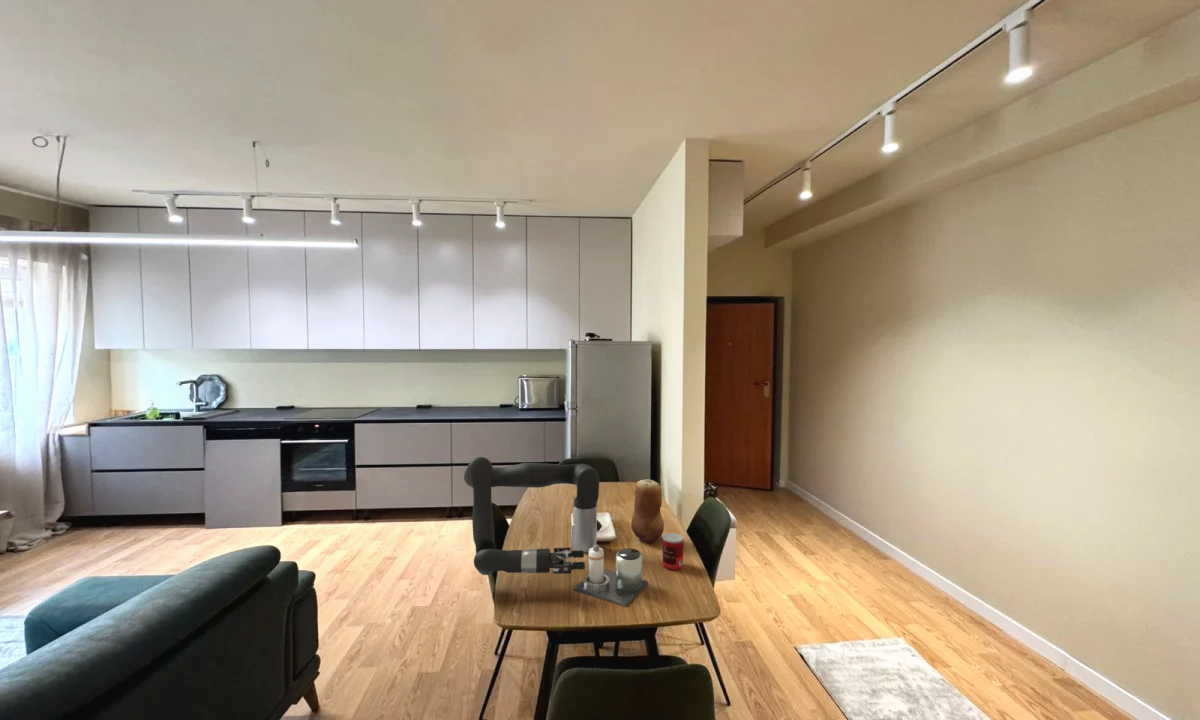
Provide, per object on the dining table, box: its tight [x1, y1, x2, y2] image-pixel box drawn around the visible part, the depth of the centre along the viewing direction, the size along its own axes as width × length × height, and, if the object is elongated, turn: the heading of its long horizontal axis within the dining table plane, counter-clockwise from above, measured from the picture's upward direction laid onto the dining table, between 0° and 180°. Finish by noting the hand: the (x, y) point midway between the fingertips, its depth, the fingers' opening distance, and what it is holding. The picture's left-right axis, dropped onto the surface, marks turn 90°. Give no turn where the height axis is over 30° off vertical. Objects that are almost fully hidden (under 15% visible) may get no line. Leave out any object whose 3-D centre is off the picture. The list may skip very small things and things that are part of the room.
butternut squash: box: [630, 478, 665, 544], centre depth 205 cm, size 14×13×25 cm
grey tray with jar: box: [573, 548, 650, 608], centre depth 166 cm, size 20×17×12 cm
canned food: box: [662, 532, 685, 572], centre depth 182 cm, size 8×8×11 cm
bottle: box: [588, 544, 605, 584], centre depth 166 cm, size 5×5×14 cm
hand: (584, 559), depth 166 cm, fingers open, 8 cm apart
